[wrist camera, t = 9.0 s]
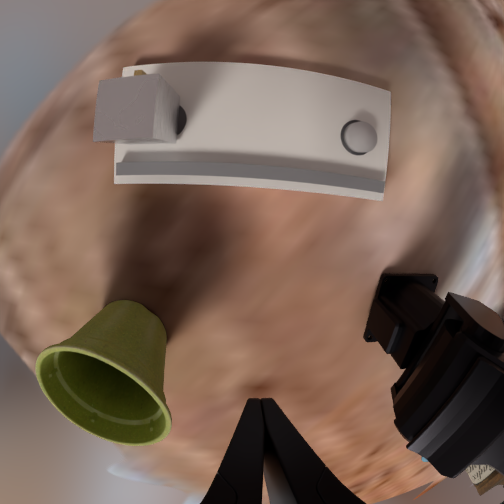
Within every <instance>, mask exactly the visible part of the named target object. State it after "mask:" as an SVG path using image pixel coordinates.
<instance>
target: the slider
mask: <svg viewBox="0 0 504 504" xmlns="http://www.w3.org/2000/svg"><path fill="white" fill-rule="evenodd" d="M179 104H180V96H179V94H178V93H177V92H176V91H175V90H174V89H173V88H172V87H171V86H170V85H169V83H168V82H167V81H166V80H165V79H164V78H163V77H162V76H161V75H160V74H159V73H158V74H146V73H145V72H144V71H143V70H135V71H134V76H128V77H120V78H114V79H107V80H101V81H99V87H98V94H97V102H96V111H95V121H94V134H93V142H103V143H116V144H127V145H136V144H176V141H177V127H178V115H179Z"/></svg>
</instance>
